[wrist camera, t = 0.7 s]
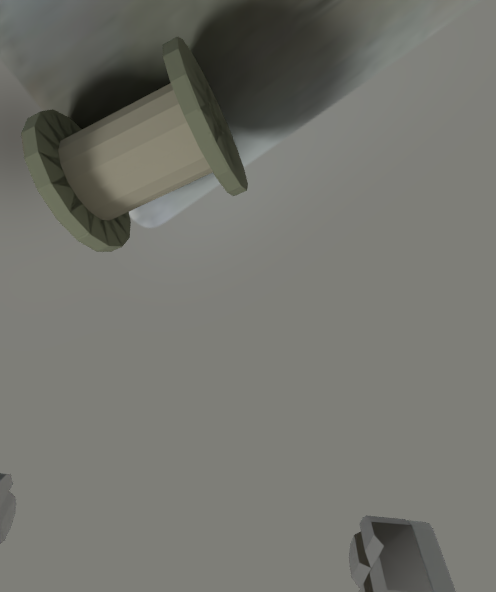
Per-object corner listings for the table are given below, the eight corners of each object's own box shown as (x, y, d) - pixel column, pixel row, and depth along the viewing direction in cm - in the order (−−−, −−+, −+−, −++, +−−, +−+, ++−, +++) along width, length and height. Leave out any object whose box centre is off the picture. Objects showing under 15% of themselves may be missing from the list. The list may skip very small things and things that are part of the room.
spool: (175, 16, 44) (180, 76, 34) (237, 143, 54) (256, 217, 44) (38, 92, 47) (6, 167, 37) (122, 197, 58) (115, 278, 48)
